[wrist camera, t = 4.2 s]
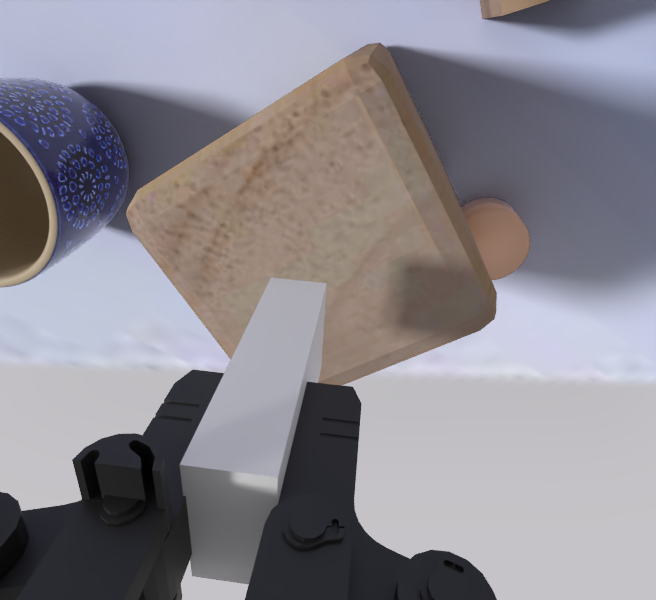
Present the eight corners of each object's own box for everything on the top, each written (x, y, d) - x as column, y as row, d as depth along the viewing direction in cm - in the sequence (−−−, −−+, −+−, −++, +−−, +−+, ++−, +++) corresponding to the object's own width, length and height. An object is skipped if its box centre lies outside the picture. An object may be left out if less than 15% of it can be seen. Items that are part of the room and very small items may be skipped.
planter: (175, 143, 35) (92, 186, 25) (107, 251, 40) (16, 323, 30) (34, 33, 33) (-117, 34, 23) (-20, 162, 37) (-165, 208, 28)
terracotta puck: (442, 259, 37) (446, 276, 35) (454, 193, 35) (459, 207, 32) (510, 265, 37) (519, 283, 34) (527, 200, 34) (538, 213, 32)
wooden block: (449, 177, 34) (513, 330, 17) (324, 241, 37) (268, 425, 20) (382, 35, 31) (374, 38, 13) (250, 119, 34) (101, 212, 16)
